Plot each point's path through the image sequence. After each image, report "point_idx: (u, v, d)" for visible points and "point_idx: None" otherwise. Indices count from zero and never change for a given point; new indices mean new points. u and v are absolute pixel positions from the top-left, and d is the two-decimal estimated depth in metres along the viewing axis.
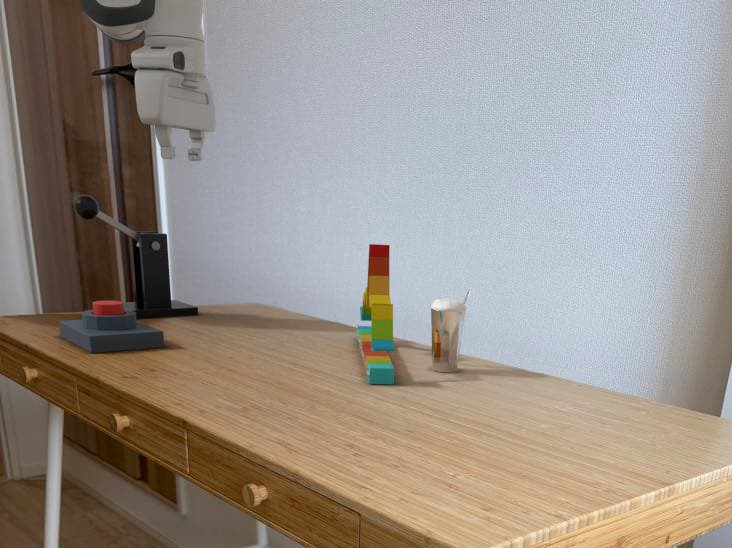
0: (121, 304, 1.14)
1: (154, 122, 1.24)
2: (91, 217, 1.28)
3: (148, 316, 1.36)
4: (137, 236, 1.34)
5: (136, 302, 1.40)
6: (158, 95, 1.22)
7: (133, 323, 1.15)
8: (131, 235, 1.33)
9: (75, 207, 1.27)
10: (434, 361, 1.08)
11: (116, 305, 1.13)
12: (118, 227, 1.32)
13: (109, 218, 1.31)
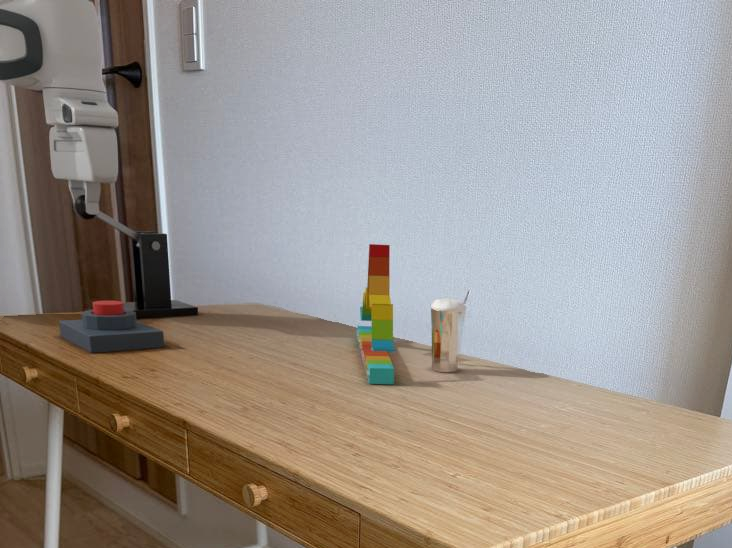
0: (121, 304, 1.14)
1: (109, 181, 1.20)
2: (91, 217, 1.28)
3: (148, 316, 1.36)
4: (137, 236, 1.34)
5: (136, 302, 1.40)
6: (114, 154, 1.19)
7: (133, 323, 1.15)
8: (131, 235, 1.33)
9: (75, 207, 1.27)
10: (434, 361, 1.08)
11: (116, 305, 1.13)
12: (118, 227, 1.32)
13: (109, 218, 1.31)
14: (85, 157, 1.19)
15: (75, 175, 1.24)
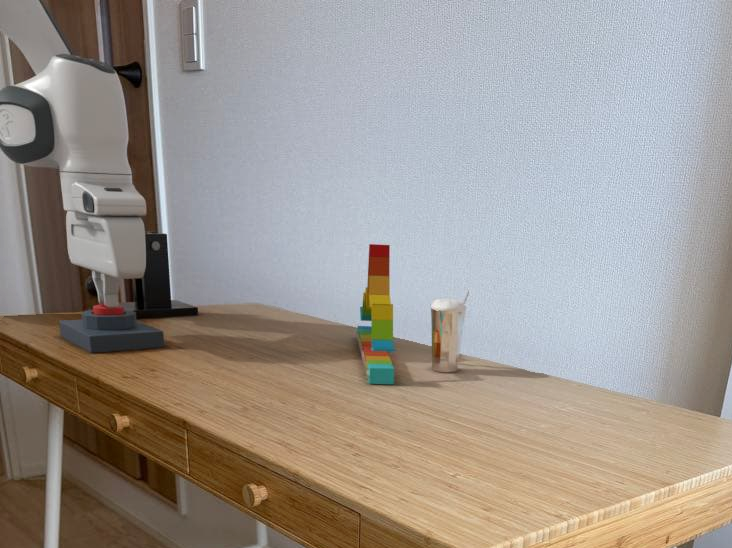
0: (121, 308, 1.14)
1: (135, 277, 1.06)
2: None
3: (148, 316, 1.36)
4: None
5: (136, 302, 1.40)
6: (142, 247, 1.05)
7: (133, 323, 1.15)
8: None
9: (94, 296, 1.34)
10: (434, 361, 1.08)
11: (116, 309, 1.13)
12: None
13: None
14: (108, 250, 1.05)
15: (97, 266, 1.09)
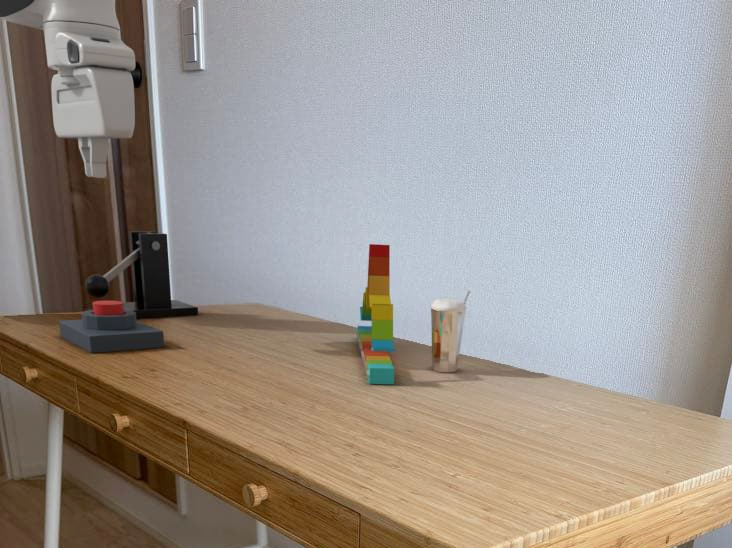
0: (121, 304, 1.14)
1: (124, 135, 0.99)
2: (108, 289, 1.34)
3: (148, 316, 1.36)
4: (138, 253, 1.35)
5: (136, 302, 1.40)
6: (131, 103, 0.98)
7: (133, 323, 1.15)
8: (135, 258, 1.35)
9: (94, 296, 1.34)
10: (434, 361, 1.08)
11: (116, 305, 1.13)
12: (124, 267, 1.35)
13: (114, 271, 1.34)
14: (95, 106, 0.98)
15: (83, 129, 1.03)
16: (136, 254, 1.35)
